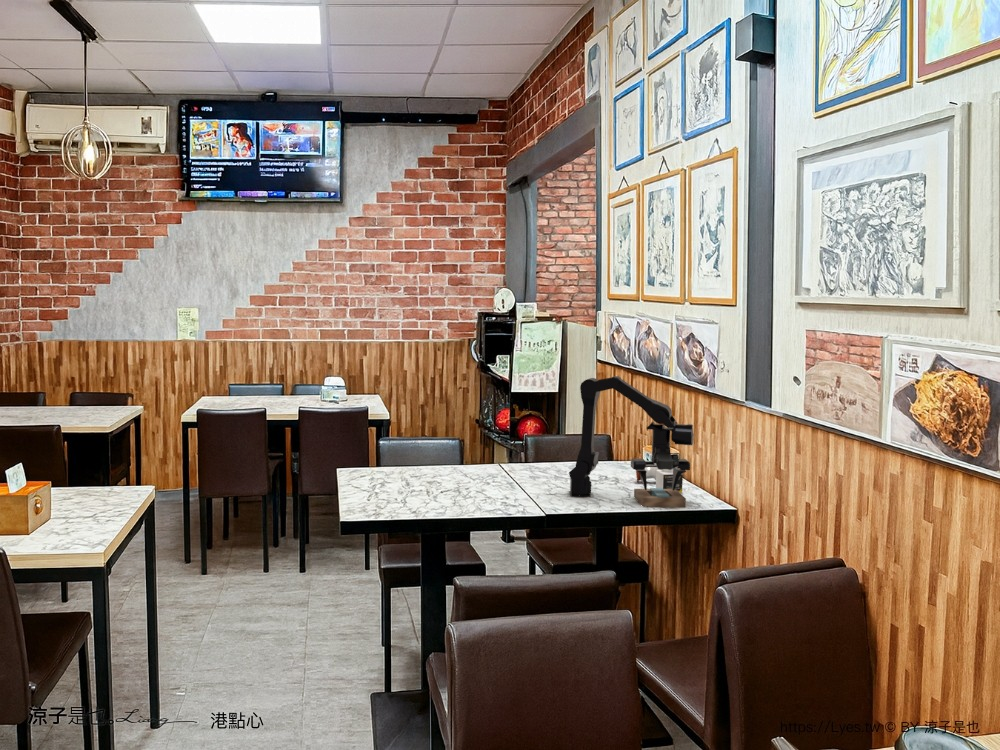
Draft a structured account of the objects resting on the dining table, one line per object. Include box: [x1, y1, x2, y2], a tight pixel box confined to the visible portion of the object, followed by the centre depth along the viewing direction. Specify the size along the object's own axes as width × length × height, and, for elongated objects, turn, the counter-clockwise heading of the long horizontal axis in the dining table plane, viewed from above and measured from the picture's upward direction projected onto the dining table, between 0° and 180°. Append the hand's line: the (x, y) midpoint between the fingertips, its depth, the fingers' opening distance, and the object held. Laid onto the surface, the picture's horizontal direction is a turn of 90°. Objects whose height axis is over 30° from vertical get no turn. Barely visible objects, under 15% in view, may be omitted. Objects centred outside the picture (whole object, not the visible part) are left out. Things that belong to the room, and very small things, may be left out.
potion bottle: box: [635, 463, 660, 483], centre depth 332 cm, size 9×10×15 cm
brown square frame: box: [633, 488, 687, 508], centre depth 301 cm, size 14×14×3 cm
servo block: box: [649, 487, 669, 497], centre depth 301 cm, size 4×11×4 cm, turn 3°
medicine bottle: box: [655, 467, 684, 495], centre depth 317 cm, size 7×7×12 cm
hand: (659, 490), depth 301 cm, fingers open, 9 cm apart
